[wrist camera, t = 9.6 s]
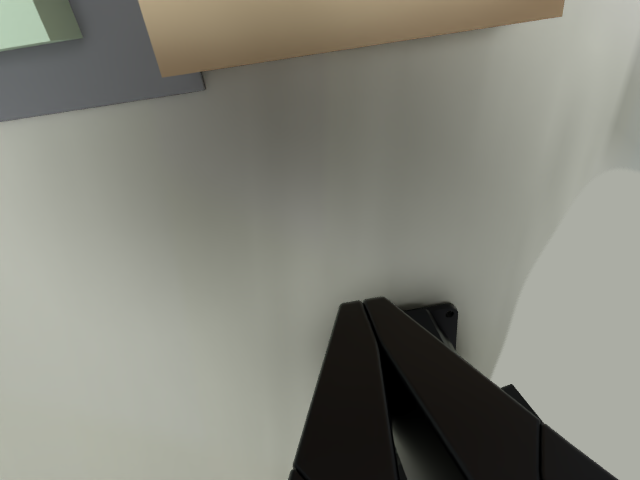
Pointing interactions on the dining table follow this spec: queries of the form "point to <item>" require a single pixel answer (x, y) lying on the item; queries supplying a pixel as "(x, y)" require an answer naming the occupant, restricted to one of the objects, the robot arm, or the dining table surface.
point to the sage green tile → (36, 23)
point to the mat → (88, 66)
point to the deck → (311, 26)
